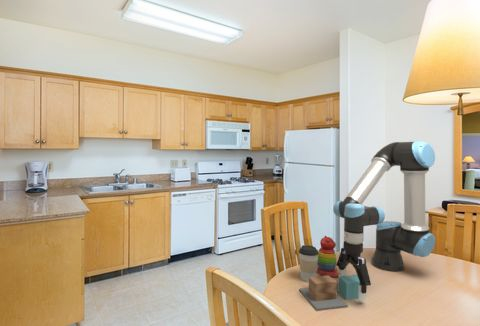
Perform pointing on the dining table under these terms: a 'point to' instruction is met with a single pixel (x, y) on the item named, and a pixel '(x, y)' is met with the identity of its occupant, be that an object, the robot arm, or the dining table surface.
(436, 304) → the dining table surface
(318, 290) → the walnut brick
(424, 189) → the robot arm
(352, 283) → the teal brick
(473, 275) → the dining table surface
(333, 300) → the mat
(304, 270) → the coffee cup
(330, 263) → the stacking bear
